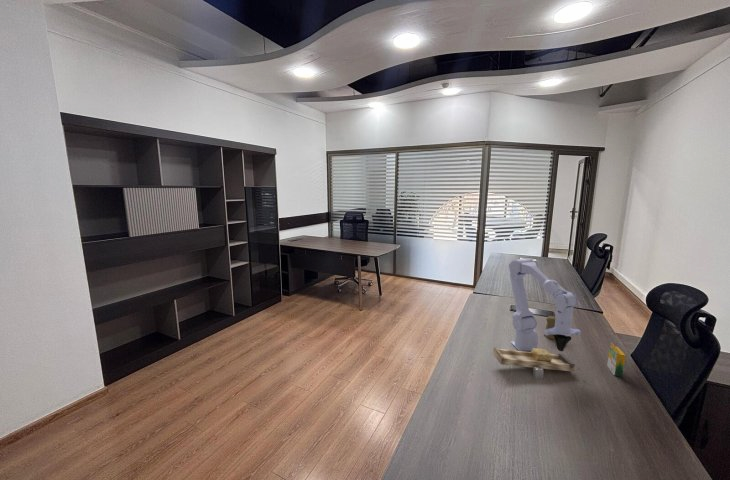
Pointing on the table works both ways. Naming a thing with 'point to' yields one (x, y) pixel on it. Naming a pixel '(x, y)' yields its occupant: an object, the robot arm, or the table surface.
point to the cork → (550, 325)
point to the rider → (541, 355)
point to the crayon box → (616, 360)
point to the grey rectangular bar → (538, 372)
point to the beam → (532, 360)
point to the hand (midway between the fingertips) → (560, 350)
